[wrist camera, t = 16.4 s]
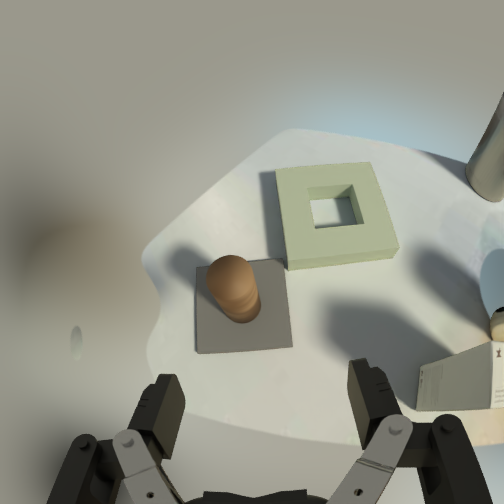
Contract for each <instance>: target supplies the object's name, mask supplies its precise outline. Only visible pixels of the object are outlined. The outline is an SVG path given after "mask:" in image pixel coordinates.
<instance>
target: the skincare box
mask: <svg viewBox="0 0 504 504" xmlns="http://www.w3.org/2000/svg"><path fill="white" fill-rule="evenodd" d="M497 408H504V342H501V341H489V342H487V343H484V344H482V345H479V346H477V347H474V348H472V349H469V350H466V351H464V352H461V353H458V354H455V355H453V356H450V357H447V358H444V359H441V360H438V361H435V362H432V363H429V364H426V365H422V366H421V367H420V376H419V387H418V394H417V403H416V411H464V410H482V409H497Z"/></svg>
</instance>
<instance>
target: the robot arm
mask: <svg viewBox="0 0 504 504" xmlns="http://www.w3.org/2000/svg"><path fill="white" fill-rule="evenodd" d="M465 171H466V177H467V179H468V181H469V183H470V185H471V186H472V187H473V189H474V190H475V191H476V192H477V193H478V194H479V195H481V196H482V197H483V198H485V199H486V200H489V201H492V202H499V201H501V200H502V199H503V198H504V92H503V95H502V97H501V99H500V101H499V104H498V106H497V108H496V110H495V112H494V114H493V117H492V119H491V121H490V123H489V125H488V127H487V129H486V131H485V133H484V135H483V137H482V138H481V140H480V142H479V144H478V146H477V148H476V150H475V151H474V153H473V155H472V157H471V158H470V160H469V162H468V164H467V165H466V169H465ZM347 389H348V396H349V400H350V403H351V407H352V411H353V414H354V418H355V422H356V426H357V430H358V434H359V438H360V442H361V446H362V450H365V451H364V453H363V455H362V456H361V458H360V459H357V460H356V462H355V463H354V464H353V466H352V468H351V469H350V471H349V472H348V474H347V475H346V476H345V478H344V479H343V481H342V482H341V484H340V485H339V487H338V488H337V489H336V491H335V492H334V494H333V495H332V496H331V498H330V499H329V500H327V499H324V498H321V497H318V496H313V495H307V490H306V489H304V490H293V491H281V492H277V493H273V494H269V495H265V496H261V497H256V498H251V497H246V496H241V495H237V494H233V493H228V492H208V491H204V494H203V497H201V498H196V499H193V500H190V501H188V502H186V503H185V502H184V501H183V499H182V498H181V497H180V495H179V494H178V492H177V491H176V489H175V488H174V486H173V484H172V483H171V481H170V479H169V478H168V476H167V475H166V473H165V471H164V469H163V467H162V466H161V461H162V459H171V456H172V452H173V448H174V445H175V441H176V438H177V434H178V431H179V427H180V423H181V420H182V416H183V413H184V409H185V396H184V393H183V391H182V388H181V386H180V383H179V381H178V378H177V376H176V375H175V374H159V376H158V378H157V380H156V383H155V384H150V385H149V386H148V387H147V388H146V389H145V390H144V391H143V393H142V395H141V398H140V401H139V402H138V405H137V407H136V409H135V412H134V414H133V416H132V419H131V421H130V424H129V426H128V428H127V430H123V431H121V432H119V433H118V434H117V435H116V436H115V437H114V439H111V440H101V441H97V440H96V438H95V437H94V436H92V435H90V434H82V435H80V436H78V437H76V438H75V439H74V441H73V442H72V444H71V447H70V449H69V451H68V453H67V455H66V458H65V460H64V462H63V465H62V467H61V469H60V472H59V474H58V476H57V479H56V481H55V484H54V486H53V489H52V491H51V493H50V496H49V498H48V501H47V504H115V501H116V498H117V494H118V491H119V487H120V483H121V480H122V479H124V482H125V484H126V487H127V489H128V491H129V493H130V495H131V498H132V500H133V502H134V504H376V503H377V501H378V500H379V498H380V496H381V494H382V493H383V491H384V489H385V487H386V485H387V484H388V482H389V480H390V478H391V476H392V474H393V473H394V471H395V469H396V467H416V468H417V472H418V475H419V479H420V483H421V487H422V492H423V496H424V501H425V504H493V502H492V499H491V496H490V493H489V490H488V487H487V484H486V481H485V478H484V476H483V473H482V470H481V468H480V465H479V462H478V460H477V458H476V455H475V452H474V450H473V447H472V445H471V442H470V440H469V438H468V435H467V433H466V431H465V429H464V426H463V424H462V422H461V420H460V419H459V418H458V417H456V416H455V415H451V414H444V415H440V416H438V417H437V418H436V419H435V420H434V422H433V423H416V422H412V421H411V420H410V419H409V418H407V417H406V416H403V414H402V412H401V410H400V407H399V405H398V403H397V400H396V398H395V395H394V393H393V391H392V390H391V386H390V384H389V382H388V379H387V377H386V374H385V373H384V372H383V371H382V370H381V369H380V368H378V367H373V368H370V367H369V365H368V362H367V360H366V358H362V359H356V360H350V361H349V368H348V382H347Z"/></svg>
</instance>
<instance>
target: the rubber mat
mask: <svg viewBox="0 0 504 504" xmlns="http://www.w3.org/2000/svg"><path fill="white" fill-rule="evenodd" d="M248 263H249V264H250V266H251V268H252V270H253V274H254V278H255V282H256V285H257V289H258V293H259V297H260V301H261V310H260V312H259V314H258V316H257V317H256V318H255V319H254V320H252V321H251V322H248V323H244V324H240V323H236V322H233V321H232V320H230V319H229V318H228V316H227V315H226V314H225V312H224V311H223V309H222V308H221V307H220V305H219V304H218V302H217V301H216V299H215V298H214V296H213V295H212V294H211V292H210V291H209V289H208V287H207V284H206V274H207V271H208V269H209V267H210V266H206V267H197V274H196V301H197V353H198V354H210V353H229V352H243V351H256V350H267V349H278V348H287V347H293V345H292V335H291V325H290V316H289V307H288V298H287V289H286V281H285V272H284V264H283V258H280V259H271V260H262V261H253V262H248Z"/></svg>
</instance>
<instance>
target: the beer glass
mask: <svg viewBox="0 0 504 504" xmlns="http://www.w3.org/2000/svg"><path fill="white" fill-rule="evenodd" d="M490 333H491V337H492V340H493V341H501V342H504V307H501V308H499V309H497V310H496V311H495V312H494V313H493V315H492V317H491V321H490Z"/></svg>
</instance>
